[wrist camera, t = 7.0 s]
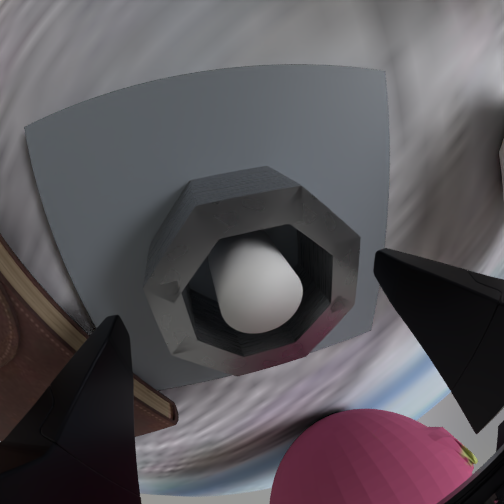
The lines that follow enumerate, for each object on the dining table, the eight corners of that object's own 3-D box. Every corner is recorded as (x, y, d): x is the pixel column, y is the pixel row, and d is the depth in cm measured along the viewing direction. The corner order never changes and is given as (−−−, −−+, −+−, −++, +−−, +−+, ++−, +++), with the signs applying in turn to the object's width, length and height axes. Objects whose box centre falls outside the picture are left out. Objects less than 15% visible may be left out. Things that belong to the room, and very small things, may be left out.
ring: (316, 158, 10) (362, 176, 7) (319, 299, 13) (349, 340, 11) (136, 193, 9) (120, 224, 6) (181, 335, 12) (187, 387, 10)
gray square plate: (376, 71, 9) (437, 68, 6) (366, 324, 16) (398, 363, 13) (31, 126, 7) (-23, 136, 4) (138, 384, 14) (138, 438, 11)
